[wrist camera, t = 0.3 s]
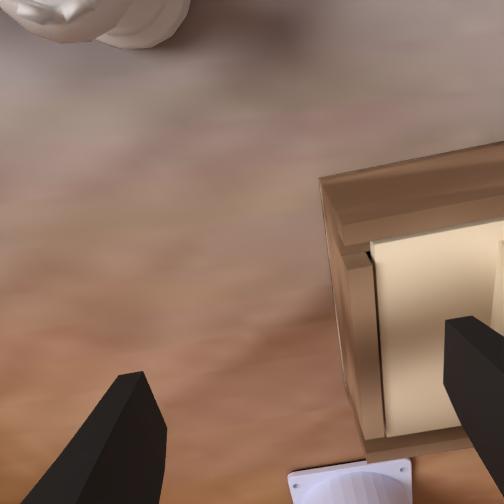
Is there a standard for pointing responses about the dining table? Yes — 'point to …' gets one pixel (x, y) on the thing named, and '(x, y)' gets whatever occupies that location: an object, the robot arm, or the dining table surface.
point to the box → (361, 270)
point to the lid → (431, 313)
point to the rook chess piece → (100, 20)
